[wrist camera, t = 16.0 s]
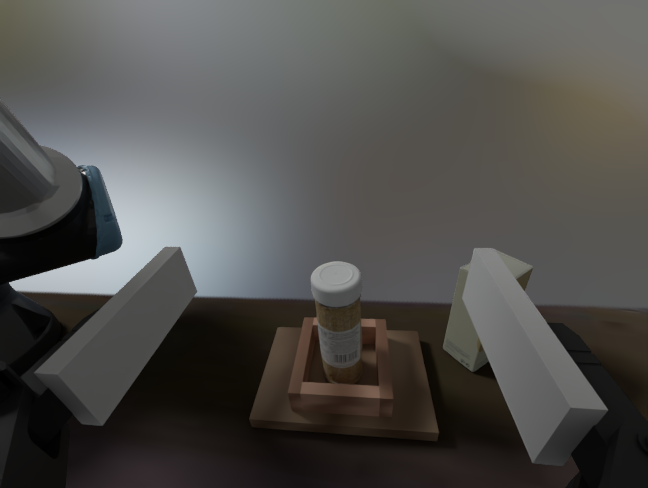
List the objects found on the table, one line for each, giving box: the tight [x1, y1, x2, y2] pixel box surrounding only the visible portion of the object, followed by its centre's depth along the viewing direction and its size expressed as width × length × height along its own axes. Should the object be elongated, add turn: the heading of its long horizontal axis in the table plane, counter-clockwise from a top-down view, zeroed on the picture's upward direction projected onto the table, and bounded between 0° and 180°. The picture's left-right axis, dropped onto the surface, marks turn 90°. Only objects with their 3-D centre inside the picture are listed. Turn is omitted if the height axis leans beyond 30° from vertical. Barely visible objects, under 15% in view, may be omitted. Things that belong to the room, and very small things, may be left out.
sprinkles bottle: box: [311, 262, 363, 385], centre depth 29 cm, size 5×5×14 cm
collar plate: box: [249, 318, 439, 441], centre depth 32 cm, size 18×12×4 cm, turn 84°
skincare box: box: [443, 250, 533, 372], centre depth 33 cm, size 6×4×12 cm
